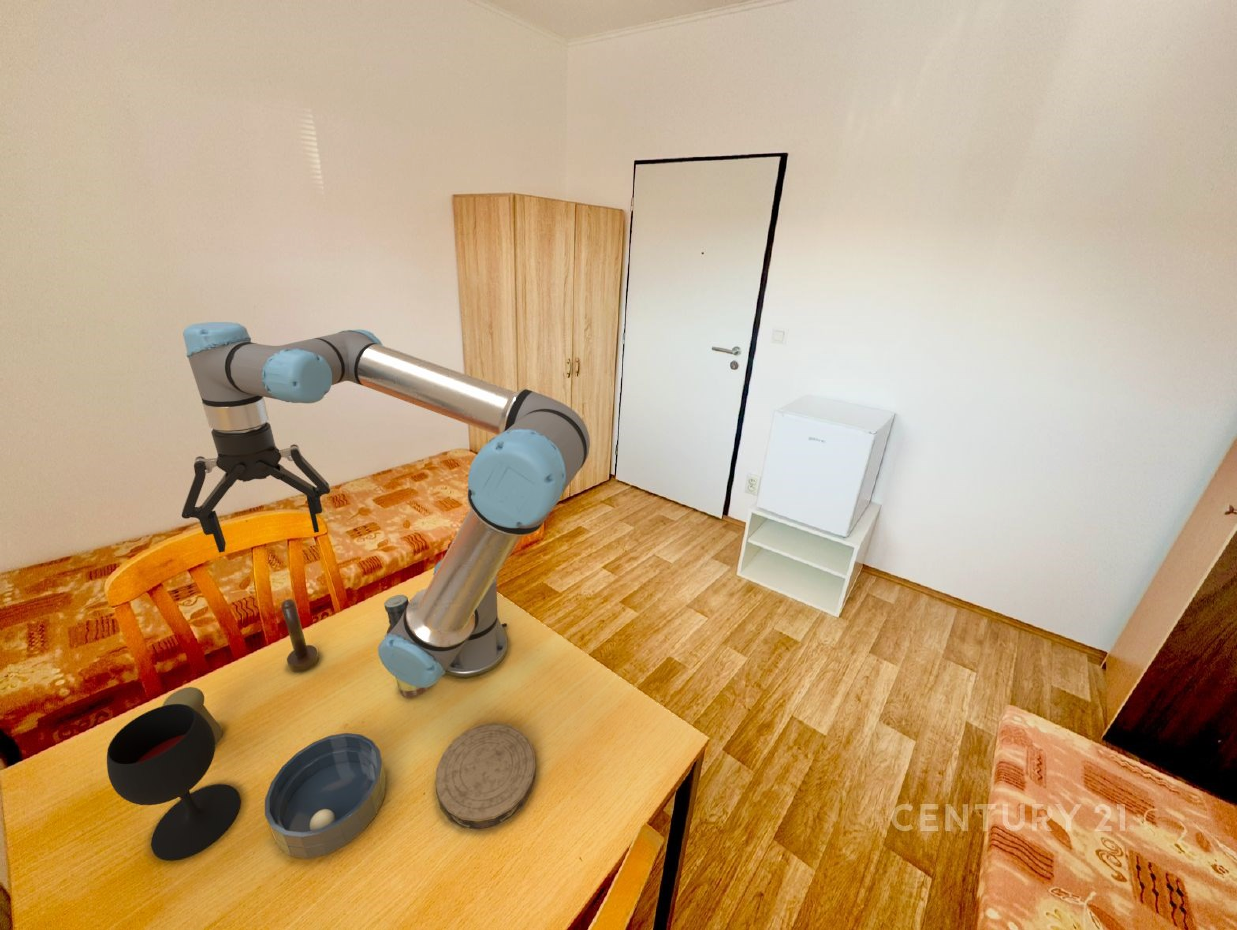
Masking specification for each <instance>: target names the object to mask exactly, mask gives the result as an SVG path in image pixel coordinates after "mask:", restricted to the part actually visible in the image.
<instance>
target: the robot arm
mask: <svg viewBox="0 0 1237 930" xmlns="http://www.w3.org/2000/svg"><path fill="white" fill-rule="evenodd" d="M182 336H183V340H184V344H185V350H186V358H187V359H188V362H189V365H190V368H191V371H192V374H193V378H194V380H195V383H196V386H197V390H198V393H199V396H200V398H201V403H202V407H203V410H204V414H205V417H206V421H207V424H208V426H209V428H210V429H212V430H211V437H212V440H213V443H214V447H215V449H216V450H215V451H216V453H217V457H216V458H214V457H213V458H206V457H204V456H202V455H200V456H197V457H196V458H195V459H194V463H193V471H194V477H193V480H192V482H191V486H190V488H189V491H188V494H187V497H186V499H185V503H184V504H183V509H182V511H181V517H182V519H187V520H188V519H190V518H192V519H193V518H194V519H197V520H199V523H200V526H201V529H202V532H203V534H204V535H205V536H210V535H212V536H213V538H214V542H215V544H216V549H217V551H218V553H219V554H220V553H225V551H226V545H227V543H226V540H225V537H224V533H223V530H222V527H221V524H220V520H219V518H218V514H217V512H216V510H214V509H215V508H216V506H217V505H218V504H219V503H220V501H221V500H222V498H224V496H225V495H226V494H227V492H228V491H229V490H230V489H231V488H232V487H233V485H235V483H236V481H241V482H242V483H246V482H250V481H253V480H265V479H267V478H268V477H269V476H271V477H273V479H276V480H280V481H281V482H283V483H285V484H286V485H289V486H290V487H292V488H293V489H294V490H297V491H299V492H300V493H301V494H303V495H305V496H306V502H307V507H308V510H309V515H310V521H311V524H312V529H313V533H314V534H316V533H319V532H320V528H319V522H318V518H317V515H319V514H322V513H323V506H322V501H321V497H322V496H324V495H329V494H330V493H331V488H330V484H329V483H328V481H327V480H326V479H325V478H324V477H323V476H322V475H321V474H320V473H319V472H318V471H317V470H316V469H315V468H314V467H313V465H312V464H311V463H309V461H307V459H306V458H305V457H304V456H303V455H302V453H301V450H300V447H299V446H298V444H291V445H290V446H289V447H288V448H282V449H279V448H277V446H276V443H275V438H274V434H273V430H272V426H271V424H270V422H268V421H270V419H269V414H268V410H267V409H268V408H267V406H266V405H267V404H266V400H265V398H267V399H273V400H278V401H281V402H285V403H292V404H314V403H318V402H320V401H322V400H323V399H324V397H325V395H327V394H328V393H329V392H330V391H331V388H332V386H334V385H338V384H341V383H343V382H350V383H354V384H356V385H359V386H362V387H365V388H368V389H370V390H373V391H377V392H379V393H382V394H385V395H387V396H390V397H393V398H396V399H398V400H401V401H403V402H406V403H408V404H412V405H415V406H417V407H419V408H422V409H426V410H429V411H431V412H434V413H436V414H439V415H441V416H444V417H447V418H450V419H453V420H455V421H458V422H461V423H464V424H466V425H469V426H472V427H474V428H477V429H480V430H483V431H486V432H488V433H491V434H494V435H496V436H494V437H492V438H491V439H490V440H488V442H487V443H486V444H484V445H483V446H482V447H481V448H480V450H479V451H478V453H477V454H476V456H475V457H474V459H473V460H472V462H471V465H470V467H469V470H468V476H467V488H468V489H467V493H466V498H467V503H468V506H469V510H468V512H467V514H466V516H465V517H464V519H463V521H462V523H461V525H460V527H459V528H458V530H457V532H456V534H455V536H454V537H453V540H452V541H451V543H450V545H449V547H448V549H447V551H446V552H445V555H444V557H443V558H442V559H441V560H439V561H438V562H437V563H436V565H435V566H434V569H433V574H432V575H433V577H432V579H431V580H430V582H429V584H428V586H427V587H426V588H424V589H421V590H420V591H417V592H416V593H415V594H414V595H413V596H412V597H411V599H410V600H409V604H408V605H407V607H406V609H405V611H404V613H403V615H402V617H401V619H400V620H399V622H398V623H397V624H396V626H395V627H394V628H393V629H392V630H391V631H390V633H389V634H387V633H386V634H384V637H383V639H382V640H381V642H380V643H379V645H378V648H377V653H378V658H379V660H380V662H381V664H382V665H383V666H384V668H385V669H386V670H387V671H388V672H389V673H390V674H391V675H392V676H393V677H394V678H395V679H396V678H398V679H399V680H401V681H402V682H404V683H406V684H409V685H411V686H415V687H420V688H427V687H429V688H431V687H433V686H435V685H436V684H437V683H438V682H439V681H440V679H442V678H443V677H444V676H445V675H446V676H447V677H451V678H454V679H461V680H462V679H463V680H464V679H465V680H467V679H475V678H478V677H481V676H483V675H486V674H488V673H490V672H491V671H493V670H494V669H495V668H497V667H498V666H499V665H500V664H501V663H502V661H503V660H504V659H505V657H506V654H507V652H508V636H507V632H506V630H505V629H504V628H505V627H507V626H508V624H507V623H506V622H505V623H501V621H500V618H499V616H498V611H499V610H498V586H497V585H498V583H497V582H498V575H499V573H500V572H501V571H502V569H503V567H504V566H505V564H506V562H507V561H508V559H509V557H510V556H511V555H512V553H513V551H514V550H515V549H516V547H517V545H518V544H519V542H520V541H521V539H522V538H523V537H524V536H529V535H532V534H534V533H536V532H538V531H539V529H540V528H541V527H542V526H543V524H544V523H545V521H546V520H547V518H548V517H549V515H550V514H551V512H552V511H553V509H554V508H555V507H556V506H557V504H558V503H559V501H560V499H561V497H562V495H563V494H564V492H565V491H566V490H567V488H568V487H569V485H570V484H571V482H572V481H573V480H574V478H575V477H576V476H577V474H578V473H579V472H580V471H581V469H582V468H583V467H584V466H585V463H586V462H587V460H588V457H589V454H590V448H591V438H590V434H589V431H588V428H587V426H586V424H585V422H584V420H583V419H582V417H581V416H580V415H579V414H578V413H577V412H576V410H574V409H572V408H571V407H570V406H568V405H567V404H564V403H563V402H561V401H560V400H557V399H554V398H552V397H550V396H546V395H544V394H542V393H539V392H535V391H533V390H531V389H528V388H521V389H520V390H518V391H514V390H511V389H509V388H506V387H504V386H503V387H502V386H500V385H497V384H494V383H492V382H488V381H486V380H484V379H483V380H482V379H480V378H476V377H474V376H471V375H469V374H465V373H463V372H460V371H456V370H453V369H451V368H448V367H445V366H443V365H440V364H437V363H434V362H431V361H429V360H426V359H422V358H421V357H420V358H419V357H417V356H414V355H412V354H408V353H405V352H402V351H400V350H397V349H393V348H391V347H388V346H385V345H383V343H382V341H381V340H380V339H379V338H378V337H377V336H376V335H374V333H373V332H371V331H369V330H366V329H362V328H361V329H347V330H341V331H338V332H336V333H332V334H331V333H330V334H327V335H322V336H319V337H314V338H309V339H305V340H298V341H295V342H290V343H285V344H281V345H270V344H261V343H256V342H252V338H251V337H250V334H249V332H248V329H247V327H246V326H245V325H242V324H241V323H238V322H232V321H231V322H230V321H209V322H208V321H207V322H206V321H205V322H198V323H194V324H191V325H188V326H186V327H185V328H184V329H183V332H182ZM282 458H285V459H287V461H289V462H293V463H294V464H295V467H297V468H298V469H299V470H300V471H301V472H302V473H303V475H305V476H306V477H307V478H308V479H309V480H310V482H312V483H313V484H314V485H312V484H311V483H309V482H308V481H307V480H304V479H303V478H301V477H300V476H298V475H296V474H294V473H293V472H292V471H290V470H289V469H287V468H285V466H283V465H282V464H281V463H280V462H281V459H282ZM216 467H217V468H219V470H221V471H223V472H225V473H224V474H223V476H222V478H221V479H220V480H219V481H218V483H217V484H216V486H215V487H214V488H213V489H212V490H211V492H210V493H209V495H207V497H206V499H204V501H203V502H202V504H201V505H199V506H196V505H197V502H198V500H199V497H200V494H201V491H202V489H203V486H204V483H205V480H206V476H207V474H210V473H211V472H212V471H213V469H214V468H216Z"/></svg>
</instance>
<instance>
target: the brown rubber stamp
mask: <svg viewBox="0 0 1237 930" xmlns="http://www.w3.org/2000/svg"><path fill="white" fill-rule="evenodd" d="M280 606H281V611H282V615H283V617H284V621H285V625H286V628H287V632H288V636H289V639H290V642H291V646H292V651H290V653H288V655H287V657H286V663H287V665H288V668H289V670H290V671H291V672H293V673H303V672H306V671H309V670H310V669H312V668H313V667H314V666H316V664H317V663H318V662H319V659H320V656H319V653H318V649H317V647H316V646H315V645H311V644H309V645H308V644H307V642H306V638H305V635H304V631H303V628H302V624H301V619H300V616H299V613H298V608H297V605H296V602H295V600H293V599H291V598H290V599H289V598H288V599H285V600H283V602H281V605H280Z"/></svg>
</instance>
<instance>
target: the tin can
mask: <svg viewBox="0 0 1237 930" xmlns="http://www.w3.org/2000/svg"><path fill="white" fill-rule="evenodd" d="M535 757H536V756H535V749H534V748H533V746H532V744H531V741H530V739H529V738H528V737H527V735H525V734H524V733H523V732H522V731H521V730H520V729H518V728H517V727H515V726H512V725H510V724H508V723H499V722H489V723H483V724H478V725H476V726H473V727H471V728H469V729H467V730H465V731H464V732H462V733H461V734H460V735H459V736H457V737H456V738H455V739H453V740H452V742H451V743H450V744H449V745H448V746H447V748H446V749H445V750H444V752H442V755H441V757H440V760H439V762H438V764H437V767H436V772H435V773H436V774H435V784H434V785H435V791H436V798H437V800H438V805H439V809H440V810H441V812H442V814H444V816H445V817H446V819H447V820H448V821H449V822H450V823H452V824H454V825H455V826H457V827H459V828H461V829H463V830H470V831H478V832H480V831H484V830H489V829H494V828H497V827H499V826H500V825H502V824H504V823H506V822H508V821H510V820H511V819H513V818H514V817H515V816H516V815H517V813H518V812H519V811H521V810H522V809H523V808H524V807H525V805H526V803H527V801H528V799H529V797H530V796H531V794H532V792H533V788H534V784H535V781H536V758H535Z"/></svg>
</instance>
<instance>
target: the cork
mask: <svg viewBox="0 0 1237 930" xmlns="http://www.w3.org/2000/svg"><path fill="white" fill-rule="evenodd" d="M170 704H184V705H188V706H190V707H192V708H193V709H194V710H196V711H197V712H198V713H200V714H201V715H202V716H203V717H204V718H205V719H206V720H207V722H208V723H209V725H210V726H211V728H212V730H213V733H214V737H215V746H216V745H217V744H218V743H219V742H220V741H221V738H222V737H223V730H222V728H221V726H220V725H219V723H218V722H217V720H216V719H215V718H214V717H213V715H212V714H211V712H210V711H209V710H208V708H207V707H206V706H205V705H204V704H205V695H204V692H203V691H202V690H201V689H199V688H198V687H193V686H188V687H184V688H181V689H178V690H176V691H174V692H173V693H171V694H169V696H167V697H166V698H165V700H164V701H163V703H162V706H165V705H170Z"/></svg>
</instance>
